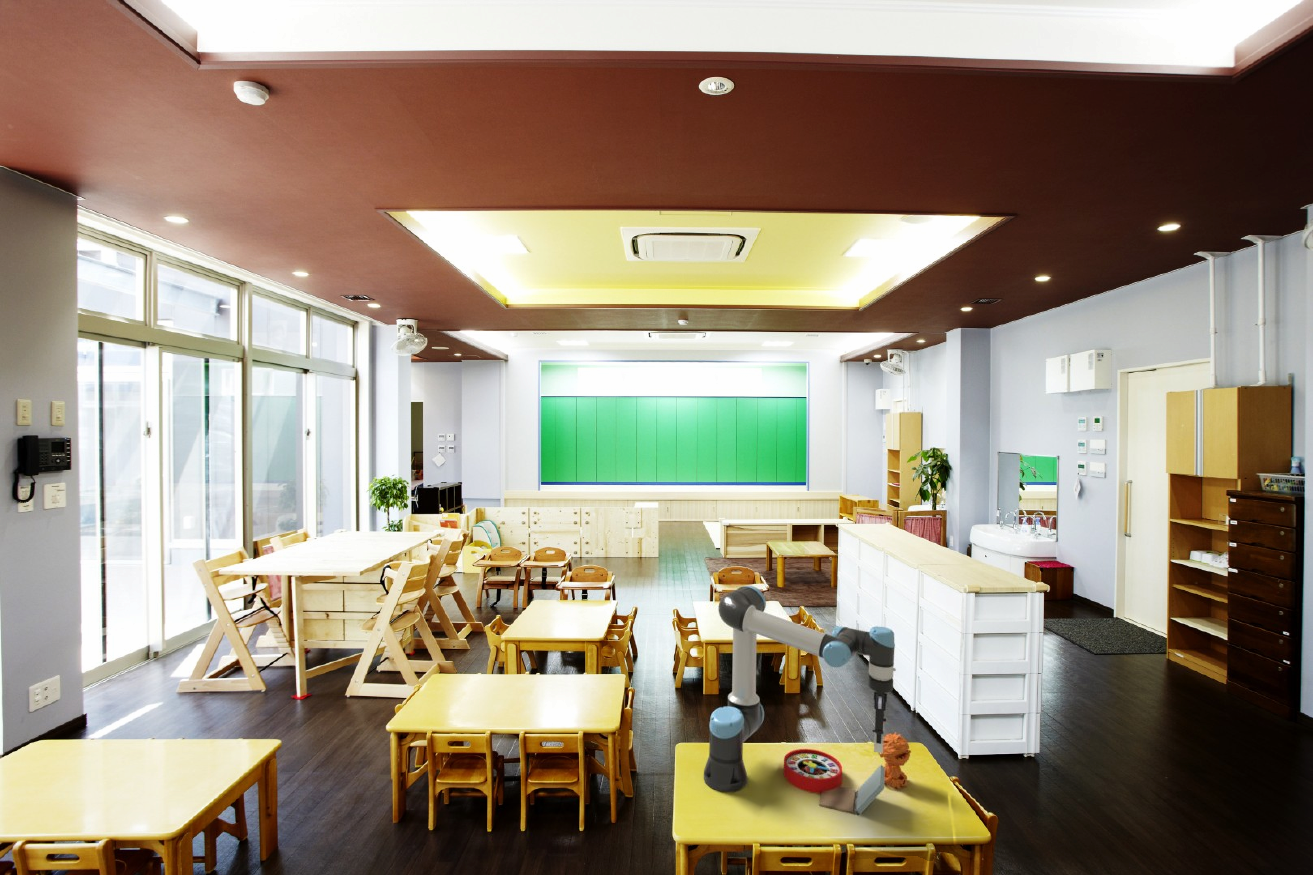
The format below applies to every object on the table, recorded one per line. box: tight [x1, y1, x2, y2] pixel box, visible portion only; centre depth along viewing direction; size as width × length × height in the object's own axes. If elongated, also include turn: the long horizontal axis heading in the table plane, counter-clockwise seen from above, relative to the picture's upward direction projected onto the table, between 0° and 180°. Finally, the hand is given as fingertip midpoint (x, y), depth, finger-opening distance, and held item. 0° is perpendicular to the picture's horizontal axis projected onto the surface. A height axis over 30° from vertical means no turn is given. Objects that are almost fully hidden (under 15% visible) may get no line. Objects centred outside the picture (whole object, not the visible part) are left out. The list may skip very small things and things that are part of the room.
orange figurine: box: [878, 731, 912, 790], centre depth 218 cm, size 11×11×18 cm
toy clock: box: [783, 748, 843, 794], centre depth 220 cm, size 20×6×20 cm
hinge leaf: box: [854, 764, 885, 815], centre depth 204 cm, size 14×13×2 cm
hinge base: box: [818, 785, 860, 816], centre depth 207 cm, size 12×13×2 cm
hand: (878, 746), depth 202 cm, fingers open, 6 cm apart
